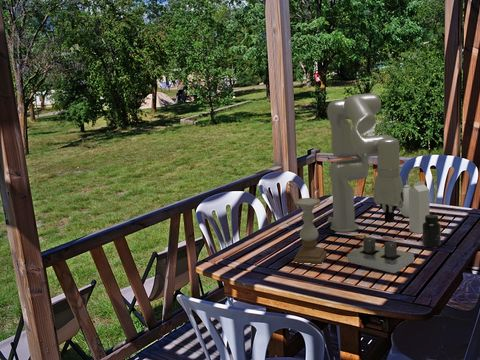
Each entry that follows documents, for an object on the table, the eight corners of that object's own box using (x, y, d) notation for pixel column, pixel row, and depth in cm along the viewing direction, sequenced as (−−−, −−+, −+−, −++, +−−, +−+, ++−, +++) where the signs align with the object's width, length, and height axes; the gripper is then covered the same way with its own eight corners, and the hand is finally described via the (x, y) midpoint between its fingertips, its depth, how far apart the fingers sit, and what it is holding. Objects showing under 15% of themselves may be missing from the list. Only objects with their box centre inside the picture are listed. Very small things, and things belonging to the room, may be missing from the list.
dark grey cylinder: (382, 264, 194) (381, 244, 193) (388, 261, 197) (388, 240, 196) (393, 267, 191) (392, 246, 190) (399, 263, 194) (398, 243, 193)
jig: (347, 261, 200) (346, 241, 198) (367, 251, 209) (366, 232, 208) (394, 273, 186) (393, 252, 184) (413, 261, 195) (413, 240, 193)
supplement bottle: (442, 247, 206) (441, 218, 204) (423, 247, 208) (423, 218, 205) (439, 241, 213) (439, 213, 211) (421, 242, 215) (421, 213, 212)
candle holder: (321, 265, 198) (318, 204, 193) (293, 264, 202) (289, 204, 197) (327, 255, 208) (324, 197, 203) (300, 254, 212) (296, 197, 207)
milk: (409, 231, 229) (408, 182, 225) (419, 228, 232) (418, 179, 227) (419, 234, 224) (418, 184, 219) (430, 231, 226) (429, 181, 222)
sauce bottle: (398, 218, 248) (397, 181, 244) (399, 214, 255) (398, 178, 251) (415, 219, 245) (415, 181, 241) (416, 214, 252) (416, 178, 248)
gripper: (364, 172, 190) (366, 221, 194) (402, 176, 179) (402, 227, 183) (375, 168, 195) (377, 216, 199) (413, 172, 184) (413, 222, 188)
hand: (389, 221), depth 191 cm, fingers closed
